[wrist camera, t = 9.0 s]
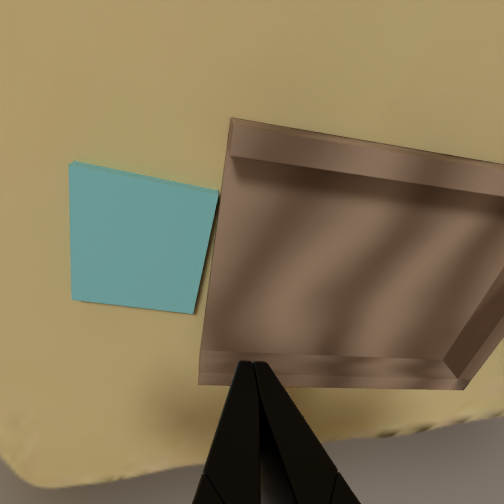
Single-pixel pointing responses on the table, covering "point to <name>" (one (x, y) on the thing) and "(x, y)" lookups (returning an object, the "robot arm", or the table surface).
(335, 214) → the brown flat tray
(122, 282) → the cover plate
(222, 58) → the table surface
